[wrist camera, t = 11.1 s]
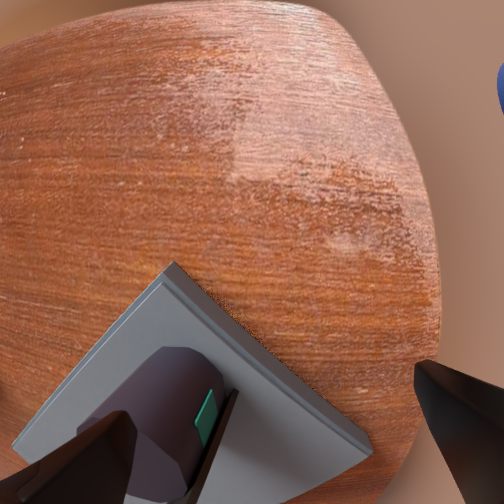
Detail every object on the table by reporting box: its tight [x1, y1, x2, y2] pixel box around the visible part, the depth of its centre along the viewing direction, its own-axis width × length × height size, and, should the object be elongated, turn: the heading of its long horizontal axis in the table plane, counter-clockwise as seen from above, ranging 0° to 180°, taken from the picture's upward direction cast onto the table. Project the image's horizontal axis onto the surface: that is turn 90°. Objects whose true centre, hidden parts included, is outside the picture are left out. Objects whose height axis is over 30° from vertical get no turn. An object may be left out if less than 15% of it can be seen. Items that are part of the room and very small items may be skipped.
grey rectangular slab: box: [11, 261, 374, 504], centre depth 23 cm, size 32×22×3 cm
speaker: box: [76, 346, 239, 504], centre depth 14 cm, size 8×6×10 cm
